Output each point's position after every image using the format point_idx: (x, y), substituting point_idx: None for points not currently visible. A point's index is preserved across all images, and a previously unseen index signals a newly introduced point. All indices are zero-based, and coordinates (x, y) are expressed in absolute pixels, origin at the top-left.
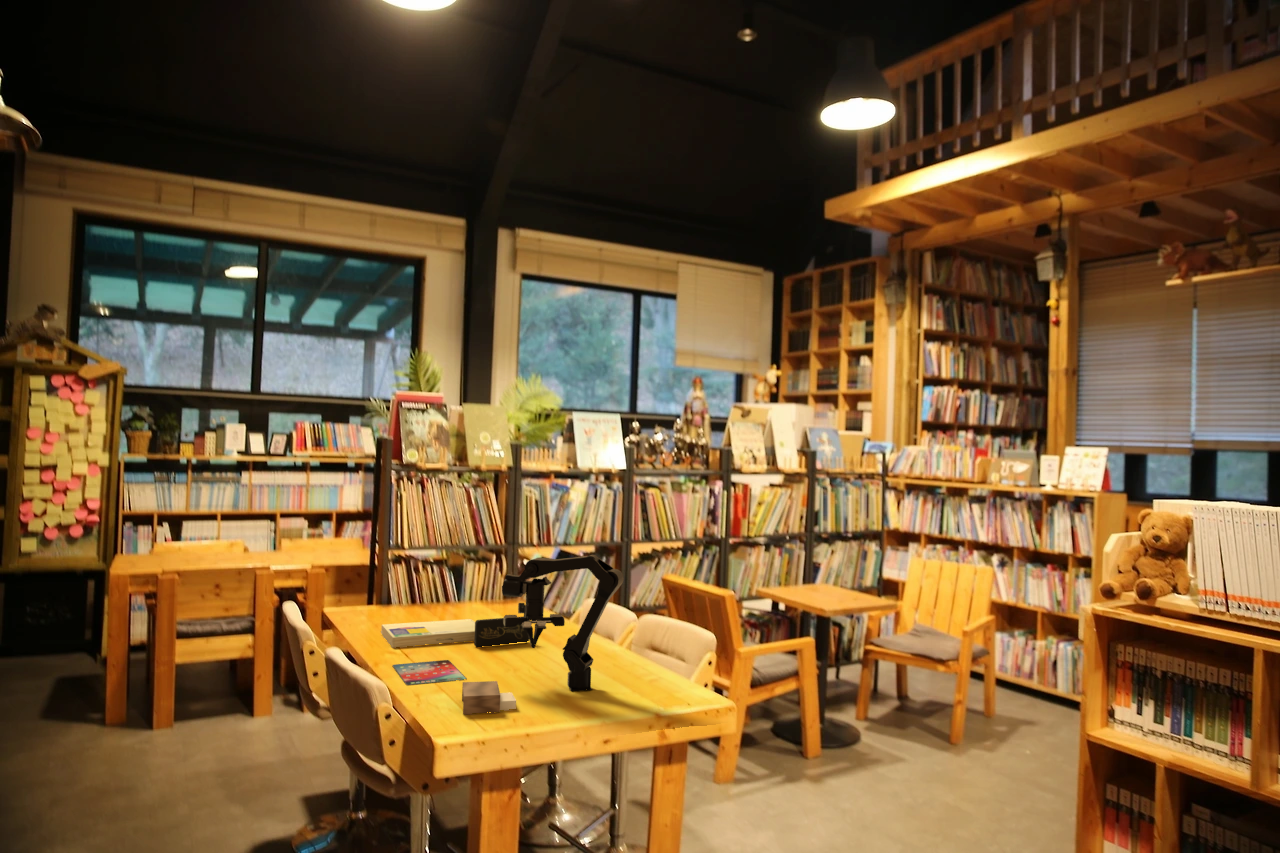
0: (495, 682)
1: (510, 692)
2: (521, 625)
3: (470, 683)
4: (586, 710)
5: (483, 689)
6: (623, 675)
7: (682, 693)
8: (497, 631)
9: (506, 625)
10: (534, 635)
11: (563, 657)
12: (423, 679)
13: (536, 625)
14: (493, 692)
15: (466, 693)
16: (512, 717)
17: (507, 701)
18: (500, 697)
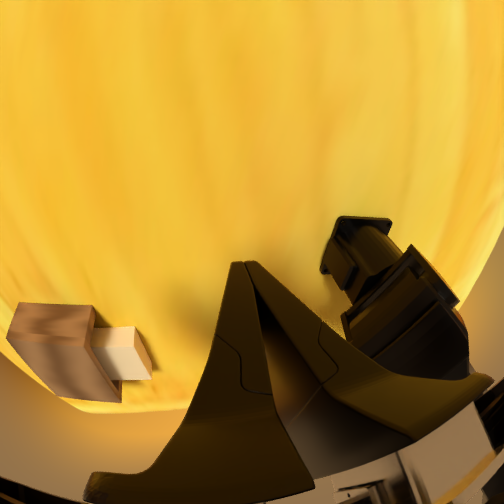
0: (83, 354)
1: (130, 346)
2: (93, 485)
3: (26, 349)
4: None
5: (75, 381)
6: (483, 158)
7: (460, 284)
8: None
9: (24, 495)
10: (283, 372)
11: (351, 335)
12: None
13: (349, 468)
14: (103, 394)
15: (54, 389)
16: (149, 383)
17: (133, 378)
18: (113, 366)
